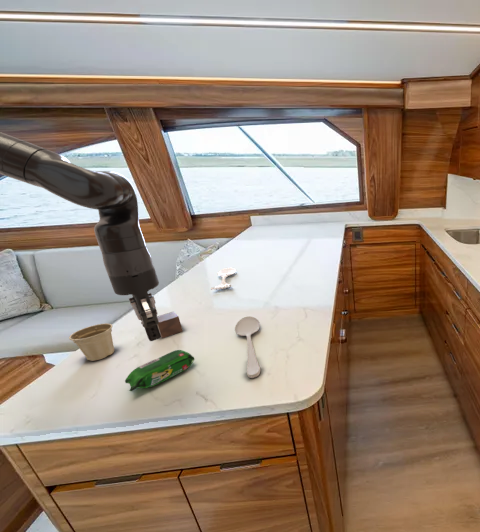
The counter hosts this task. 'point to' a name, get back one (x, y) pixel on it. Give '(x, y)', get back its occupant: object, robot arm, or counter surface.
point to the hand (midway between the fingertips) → (155, 338)
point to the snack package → (159, 369)
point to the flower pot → (94, 341)
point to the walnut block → (169, 324)
